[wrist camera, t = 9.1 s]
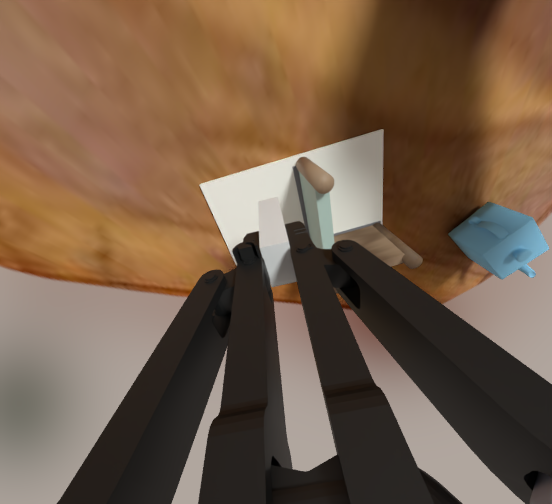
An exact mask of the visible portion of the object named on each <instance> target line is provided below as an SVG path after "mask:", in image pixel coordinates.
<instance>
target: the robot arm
mask: <svg viewBox="0 0 552 504" xmlns="http://www.w3.org/2000/svg"><path fill="white" fill-rule="evenodd" d="M258 213H259V231H256V232H252V233H248V234H246V236H245V237H244V238H243V242H242V243H239V244H238V245H236V246H235V247H234V248H233V250H232V252H233V255H234V257H235V260H236V262H237V268H235V269H234V270H232V271H230V272H228V273H225V274H224V273H223V271H221V270H211V271H209V272H207V273H205V274H204V275H202V276H201V278H200V279H199V280H198V282H197V283H196V285H195V287H194V288H193V290H192V291H191V293H190V295H189V296H188V298H187V299H186V301H185V302H184V304H183V306H182V307H181V309H180V310H179V312H178V314H177V315H176V317H175V318H174V320H173V321H172V323H171V325H170V326H169V328H168V329H167V331H166V333H165V334H164V336H163V337H162V339H161V340H160V342H159V344H158V345H157V347H156V348H155V350H154V352H153V353H152V355H151V356H150V358H149V359H148V361H147V363H146V364H145V366H144V367H143V369H142V371H141V372H140V374H139V375H138V377H137V378H136V380H135V382H134V383H133V385H132V386H131V388H130V390H129V391H128V393H127V394H126V396H125V397H124V399H123V401H122V402H121V404H120V405H119V407H118V409H117V410H116V412H115V413H114V415H113V417H112V418H111V420H110V421H109V423H108V424H107V426H106V428H105V429H104V431H103V432H102V434H101V435H100V437H99V439H98V440H97V442H96V443H95V445H94V447H93V448H92V450H91V451H90V453H89V454H88V456H87V458H86V459H85V461H84V462H83V464H82V466H81V467H80V469H79V470H78V472H77V473H76V475H75V477H74V478H73V480H72V481H71V483H70V485H69V486H68V488H67V489H66V491H65V492H64V494H63V496H62V497H61V499H60V500H59V501H58V503H57V504H171V503H172V500H173V498H174V495H175V492H176V489H177V486H178V484H179V481H180V478H181V475H182V472H183V469H184V467H185V464H186V461H187V458H188V455H189V453H190V450H191V447H192V444H193V441H194V439H195V436H196V433H197V430H198V427H199V424H200V421H201V419H202V416H203V413H204V410H205V407H206V405H207V402H208V399H209V396H210V393H211V391H212V388H213V385H214V382H215V379H216V377H217V373H218V371H219V368H220V365H221V362H222V360H223V357H224V354H225V351H226V348H227V346H228V348H227V357H226V365H225V375H224V383H223V392H222V401H221V408H220V413H219V415H218V416H217V417H216V418H215V419H214V420H213V421H212V424H211V426H210V430H209V434H208V439H207V446H206V453H205V460H204V467H203V474H202V481H201V488H200V495H199V502H198V504H462V503H461V502H460V501H459V500H458V499H457V498H455V497H454V496H453V495H452V494H451V493H450V492H449V491H448V490H447V489H446V488H445V487H443V486H442V485H441V484H440V483H439V482H438V481H436V480H435V479H434V478H433V477H431V476H430V475H428V474H427V473H426V472H424V471H423V470H421V469H419V468H418V467H417V465H416V462H415V460H414V458H413V456H412V454H411V451H410V449H409V447H408V444H407V443H406V440H405V438H404V436H403V433H402V431H401V429H400V427H399V425H398V422H397V420H396V418H395V416H394V413H393V411H392V409H391V407H390V404H389V402H388V400H387V398H386V396H385V394H384V393H383V392H382V390H381V388H379V387H378V386H376V384H375V383H374V381H373V379H372V377H371V374H370V372H369V370H368V367H367V365H366V363H365V360H364V358H363V356H362V353H361V351H360V349H359V346H358V344H357V342H356V339H355V337H354V335H353V332H352V330H351V328H350V325H349V323H348V321H347V318H346V316H345V314H344V311H343V309H342V307H341V304H340V302H339V300H338V297H337V295H336V293H335V290H334V288H335V289H336V291H337V292H338V293H339V294H340V296H341V297H342V298H343V299H344V300H345V301H346V303H347V304H348V305H349V306H350V307H351V309H352V310H353V311H354V312H355V313H356V314H357V316H358V317H359V318H360V319H361V320H362V321H363V323H364V324H365V325H366V326H367V327H368V329H369V330H370V331H371V332H372V333H373V334H374V336H375V337H376V338H377V339H378V340H379V342H381V344H382V345H383V346H384V347H385V349H386V350H387V351H388V352H389V353H390V354H391V356H392V357H393V358H394V359H395V360H396V361H397V363H398V364H399V365H400V366H401V367H402V369H403V370H404V371H405V372H406V373H407V375H408V376H409V377H410V378H411V379H412V380H413V382H414V383H415V384H416V385H417V386H418V387H419V389H420V390H421V391H422V392H423V393H424V394H425V396H426V397H427V398H428V399H429V400H430V402H431V403H432V404H433V405H434V406H435V408H436V409H437V410H438V411H439V412H440V413H441V415H442V416H443V417H444V418H445V419H446V420H447V422H448V423H449V424H450V425H451V426H452V427H453V428H454V430H455V431H456V432H457V433H458V435H459V436H460V437H461V438H462V439H463V441H464V442H465V443H466V444H467V445H468V446H469V447H470V449H471V450H472V451H473V452H474V453H475V454H476V455H477V456H478V457H479V459H480V460H481V461H482V462H483V463H484V464H485V465H486V466H487V467H488V468H489V469H490V471H491V472H492V473H494V474H495V475H496V476H497V477H498V478H499V479H500V480H501V481H502V482H503V483H504V484H505V485H506V486H507V487H508V488H509V489H510V490H511V491H512V492H513V493H514V494H515V495H516V496H517V497H519V498H520V499H521V500H522V501H523V502H525V504H552V384H550V383H549V382H548V381H546V380H545V379H544V378H542V377H541V376H539V375H538V374H537V373H535V372H534V371H533V370H531V369H530V368H529V367H527V366H526V365H524V364H523V363H522V362H520V361H519V360H518V359H516V358H515V357H513V356H512V355H511V354H509V353H508V352H507V351H505V350H504V349H502V348H501V347H500V346H498V345H497V344H496V343H494V342H493V341H492V340H490V339H489V338H487V337H486V336H485V335H483V334H482V333H481V332H479V331H478V330H476V329H475V328H473V327H472V326H471V325H470V324H468V323H467V322H466V321H464V320H462V319H461V318H460V317H459V316H457V315H456V314H454V313H453V312H452V311H450V310H449V309H448V308H446V307H445V306H444V305H442V304H441V303H439V302H438V301H437V300H435V299H434V298H433V297H431V296H430V295H429V294H427V293H426V292H424V291H423V290H422V289H420V288H419V287H418V286H416V285H415V284H413V283H412V282H411V281H409V280H408V279H407V278H405V277H404V276H402V275H401V274H400V273H398V272H397V271H396V270H394V269H393V268H392V267H390V266H389V265H387V264H386V263H385V262H383V261H382V260H381V259H379V258H378V257H376V256H375V255H374V254H372V253H371V252H370V251H368V250H367V249H366V248H364V247H363V246H361V245H360V244H359V243H357V242H355V241H353V240H341V241H337V242H336V243H334V244H333V245H332V248H331V249H320V248H317V247H316V246H315V245H314V244H313V243H312V242H311V240H310V237H309V235H308V232H307V230H306V228H305V225H304V223H302V222H300V221H296V222H292V223H288V224H284V220H283V216H282V212H281V208H280V204H279V200H278V197H274V198H270V199H266V200H262V201H258ZM293 282H297V284H298V289H299V293H300V298H301V302H302V306H303V310H304V314H305V318H306V323H307V327H308V331H309V336H310V340H311V344H312V349H313V353H314V357H315V361H316V365H317V370H318V374H319V378H320V382H321V387H322V391H323V395H324V400H325V404H326V408H327V413H328V417H329V421H330V425H331V430H332V434H333V439H334V443H335V447H336V451H337V455H336V456H334V457H332V458H331V459H329V460H327V461H326V462H324V463H322V464H320V465H319V466H317V467H315V468H313V469H312V470H310V471H307V472H304V471H298V470H293V469H292V462H291V455H290V450H289V446H288V442H287V434H286V425H285V415H284V405H283V394H282V384H281V375H280V374H281V373H280V364H279V353H278V343H277V332H276V322H275V312H274V301H273V293H272V290H271V286H272V287H275V286H279V285H284V284H288V283H293ZM270 283H271V285H270Z"/></svg>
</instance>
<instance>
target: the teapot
mask: <svg viewBox="0 0 552 504" xmlns="http://www.w3.org/2000/svg"><path fill="white" fill-rule="evenodd" d="M448 235H449V236H450V237H451V239H452V240H453V241H454V242H455V243H456V244H457V246H458V247H459V248H460V249H461V250H462V251H463V252H464V254H465V255H466V256H467V257H468V258H469V259H471V260H472V261H474V262H476V263H477V264H479V265H480V266H482V267H483V268H485V269H486V270H488V271H489V272H491V273H492V274H494V275H495V276H498V277H499V278H500V279H504V278H505V277H507V276H508V275H510V274H512V273H513V272H515V271H516V270H520V271H522V272H524V273H525V274H526V275H527V276H529V277H531V278H533V277H534V276H535V275H536V274H535V271H534V270H533V269H531V268H530V267H529V266H528V265H527V263H529V262H530V261H532V260H533V259H535V258H536V257H538V256H539V255H541V254H542V253H544V252H545V251H547V250H549V247H548V245H547V243H546V241H545V239H544V237H543V235H542V233H541V231H540V230H539V228H538V226H537V224H536V222H535V221H534V219H533V218H532V217H530V216H527V215H524V214H522V213H519V212H516V211H513V210H511V209H508V208H505V207H502V206H500V205H497V204H494V203H491V202H487V203H486V204H485V205H484V206H482V207H481V208H480V209H478V210H477V211H476V212H475V213H474V214H472V215H471V216H470V217H469V218H467V219H466V220H465V221H464V222H462V223H461V224H460V225H459V226H457V227H456V228H454V229H453V230H452V231H451V232H450V233H448Z"/></svg>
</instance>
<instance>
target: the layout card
mask: <svg viewBox="0 0 552 504" xmlns="http://www.w3.org/2000/svg"><path fill="white" fill-rule="evenodd" d="M383 135H384V129H380V130H377V131H374V132H370V133H367V134H364V135H360V136H357V137H354V138H351V139H347V140H344V141H341V142H337V143H334V144H331V145H327V146H324V147H321V148H317V149H314V150H311V151H308V152H304V153H301V154H298V155H294V156H291V157H288V158H284V159H281V160H278V161H275V162H271V163H268V164H265V165H261V166H258V167H255V168H251V169H248V170H245V171H241V172H238V173H235V174H232V175H228V176H225V177H222V178H218V179H215V180H212V181H208V182H205V183H202V184H200V187H201V190H202V192H203V194H204V196H205V198H206V201H207V203H208V205H209V207H210V209H211V211H212V214H213V216H214V218H215V220H216V222H217V225H218V227H219V229H220V231H221V233H222V236H223V238H224V240H225V242H226V244H227V246H228V249H229V251H230V253H231V255H232V257H233V260H234V262H235V264H236V266H237V262H236V260H235V257H234V255H233V252H232V250H233V248H234V247H235V246H236V245H238V244H239V243H242V242H243V238H244V237H245V236H246V234H248V233H252V232H256V231H259V213H258V201H262V200H266V199H270V198H274V197H278V200H279V204H280V208H281V212H282V216H283V220H284V224H288V223H292V222H296V221H300V222H302V223H304V225H305V228H306V230H307V232H308V235H309V237H310V234H309V228H308V222H307V216H306V210H305V204H304V199H303V193H302V187H301V181H300V175H299V171H298V169H297V168H296V162H297V160H298V159H299V158H300V157H307V158H308V159H310V160H311V161H312V162H314V163H315V164H316V165H318V166H319V167H320V168H322V169H323V170H325V171H326V172H327V173H329V174H330V175H331V176H332V177H333V178H334V187H333V188H332V190H331V191H330V192H329V194H330V204H331V213H332V223H333V233H334V236H336V235H339V234H343V233H347V232H350V231H354V230H357V229H361V228H364V227H368V226H371V225H373V224H375V223H381V224H382V211H383ZM310 240H311V238H310Z"/></svg>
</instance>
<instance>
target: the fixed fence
mask: <svg viewBox="0 0 552 504" xmlns="http://www.w3.org/2000/svg"><path fill="white" fill-rule="evenodd" d="M341 240H353V241H355V242H357V243H359V244H360V245H361V246H363V247H364V248H366V249H367V250H368V251H370V252H371V253H372V254H374V255H375V256H376V257H378V258H379V259H381V260H382V261H383V262H385V263H386V264H387V265H389V266H390V267H391V266H395V265H398V264H402V263H404V264H405V265H407V266H408V267H409V268H410V269H414V268H417V267H418V266H420V265H421V263H422V261H423V259H422V257H421V256H419V255H418V254H417V253H416V252H415V251H413V250H412V249H411V248H410V247H409V246H407V245H406V244H405V243H404V242H402V241H401V240H400V239H399V238H398V237H396V236H395V235H394V234H393V233H392V232H390V231H389V230H388V229H387V228H386V227H384V226H383V225H382V224H381V223H375V224H373V225H371V226H368V227H364V228H361V229H357V230H354V231H350V232H347V233H343V234H339V235H336V236H334V243H336V242H337V241H341ZM311 242H312V240H311ZM312 243H313V242H312ZM334 290H335V293H336V294H337V293H338V292H337V291H336V289H335V288H334Z"/></svg>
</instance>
